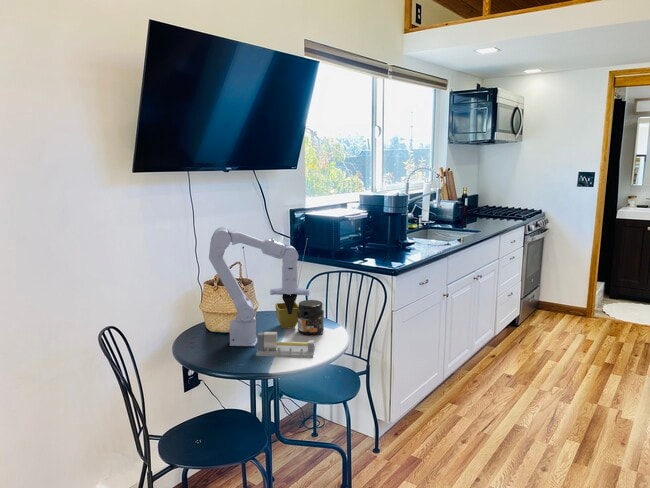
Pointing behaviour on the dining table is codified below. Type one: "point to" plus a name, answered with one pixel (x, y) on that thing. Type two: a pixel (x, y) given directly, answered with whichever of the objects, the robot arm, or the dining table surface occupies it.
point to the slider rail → (286, 348)
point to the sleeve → (270, 340)
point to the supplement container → (310, 317)
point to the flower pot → (287, 315)
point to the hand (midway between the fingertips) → (290, 313)
